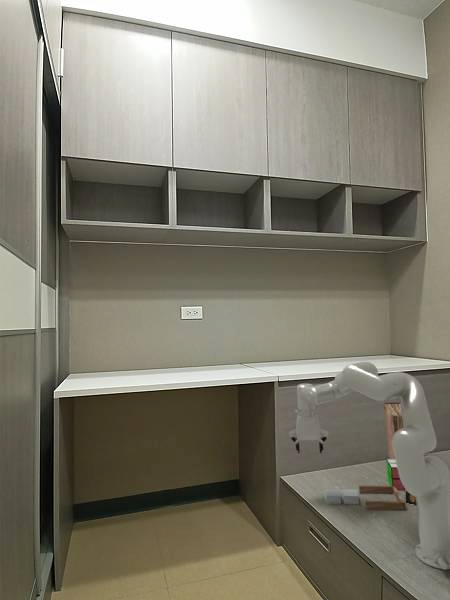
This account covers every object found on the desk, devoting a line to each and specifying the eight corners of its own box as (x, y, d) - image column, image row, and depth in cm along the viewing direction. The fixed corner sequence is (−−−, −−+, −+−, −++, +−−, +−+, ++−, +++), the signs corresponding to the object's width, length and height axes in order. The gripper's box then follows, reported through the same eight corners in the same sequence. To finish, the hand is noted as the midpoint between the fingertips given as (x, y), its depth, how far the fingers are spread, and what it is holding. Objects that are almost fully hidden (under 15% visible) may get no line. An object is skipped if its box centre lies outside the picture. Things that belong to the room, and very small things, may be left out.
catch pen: (405, 510, 151) (405, 502, 151) (366, 509, 153) (366, 501, 153) (395, 492, 166) (394, 485, 166) (359, 492, 168) (359, 485, 168)
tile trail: (341, 504, 159) (340, 495, 159) (326, 504, 160) (326, 495, 160) (338, 497, 165) (338, 489, 165) (324, 497, 166) (324, 489, 166)
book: (418, 479, 177) (413, 414, 179) (397, 478, 180) (392, 414, 181) (406, 458, 202) (402, 402, 204) (388, 458, 204) (384, 402, 206)
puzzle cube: (416, 490, 166) (415, 467, 167) (392, 490, 168) (390, 467, 169) (410, 481, 176) (408, 459, 177) (387, 480, 178) (386, 459, 179)
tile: (359, 504, 158) (358, 496, 158) (344, 504, 159) (343, 495, 159) (357, 497, 164) (356, 489, 164) (342, 497, 165) (342, 489, 165)
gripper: (287, 415, 163) (289, 455, 163) (328, 414, 161) (331, 455, 160) (287, 410, 171) (289, 449, 170) (326, 409, 168) (329, 448, 167)
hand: (309, 451), depth 165 cm, fingers open, 9 cm apart
